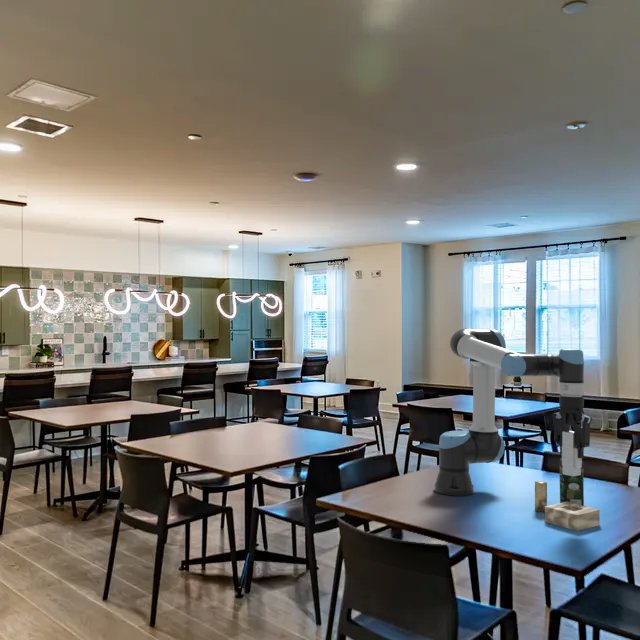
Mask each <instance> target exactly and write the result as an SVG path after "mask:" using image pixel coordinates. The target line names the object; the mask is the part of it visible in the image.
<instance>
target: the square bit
mask: <svg viewBox="0 0 640 640" xmlns="http://www.w3.org/2000/svg"><path fill="white" fill-rule="evenodd" d="M576 447H577V445H576V440H575V433H574V430H569V431H563V432H562V449H563V474H565V475H569V476H578V475H581V468H575V448H576Z"/></svg>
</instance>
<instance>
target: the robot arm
mask: <svg viewBox="0 0 640 640" xmlns="http://www.w3.org/2000/svg"><path fill="white" fill-rule="evenodd" d="M506 346H507V344H506V340H505V337H504V335H502V333H501V332H500V331H499V330H496V329H492V328H462V329H459V330H457V331H456V332H454V333H453V334H452V335H451V338H450V339H449V347H450V349H451V351H452V353H453V354H454V355H456V356H457V357H459V358H463V359H464V360H469V362H470V364H471V365H472V366H473V379H472V380H473V382H472V384H473V385H472V388H473V389H472V390H473V391H472V393H473V394H472V425H470V427H469V428H468V431H467V430H461V429H460V430H450V431H445V432H443V433H442V434H441V435H440V436H439V442H438V447H439V450H438V451H439V454H438V455H439V458H438V459H439V460H438V463H439V466H438V468H439V469H438V470H439V471H438V473H437V477H436V482H435V483H434V491H435V493H438V494H442V495H444V496H445V495H448V496H456V497H457V496H458V497H461V496H471V495H473V494H474V490H475V489H474V484H473V483H472V478H471V474H470V464H484V463H486V464H489V463H494V462H497V461H499V460H500V459H501V458H502V457H503V455H504V452H505V447H506V446H505V445H506V444H505V440H504V438H503V436H502V434H500V433H499V429H498V428H497V426H496V425H495V423H496V422H495V420H496V418H495V416H496V413H495V412H496V369H499V370H501V371H502V372H503V375H505V376H506V377H512V378H513V377H515V378H518V377H559V386H558V387H559V388H558V389H559V392H558V393H559V395H560V396H559V402H558V403H559V404H558V405H559V408H560V409H559V410H558V412H553V413H552V414H551V417H552V420H553V434H554V436H553V437H554V438H553V439H554V442H555V443H556V444H558V445H559V454H560V455H561V458H562V466H563V449H562V432H563V431H570V427H571V426H572V428H573V429H572V430H573V431H574V433H575V440H576V445H577V447H576V448H575V468H582V461H583V460H582V459H584V456H585V455H584V452H585V451H584V450H585V448H587V447H590V441H591V438H590V437H591V423H592V420H593V418H592V416H588V415H586V414H585V412H584V407H585V404H584V403H585V398H584V396H583V395H584V394H585V387H584V386H585V383H584V381H585V380H584V378H585V376H584V375H585V374H584V373H585V372H584V370H585V369H584V368H585V367H584V366H585V365H584V364H585V359H584V352H583V350H581V349H577V348H576V349H573V348H572V349H571V348H568V349H567V348H565V349H563V348H562V349H559V352H558V353H559V354H550V353H540V354H539V353H536V354H534V353H533V354H531V353H530V354H528V353H526V354H525V353H519V352H515V351H513V350H509V349H507V347H506Z"/></svg>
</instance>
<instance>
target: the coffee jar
mask: <svg viewBox="0 0 640 640" xmlns="http://www.w3.org/2000/svg"><path fill="white" fill-rule="evenodd" d="M584 468H585V467H584V461H583V460H582V468H581V475H578V476H569V475H565V474H563V466H562V457H560V458H559V503H563V502H571V503H575V504H579V505H583V506H585V501H584V499H585V496H584V489H585V488H584V487H585V483H584V470H585V469H584Z"/></svg>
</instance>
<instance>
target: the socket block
mask: <svg viewBox="0 0 640 640" xmlns="http://www.w3.org/2000/svg"><path fill="white" fill-rule="evenodd" d="M600 517H601V516H600V509H597V508H594V507H591V506H590V507H589V506H586V505H584V506H583V505H579V504H575V503H571V502H563V503H560V502H559V503H558V502H557V503H555V504H550V505H547V506H545V512H544V522H545V523H549V524H552V525H556V526H558V527H561V528H566V529H568V530H572V531H576V532H580V531H583V530H587V529H591V528H596V527H598V526H600Z"/></svg>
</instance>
